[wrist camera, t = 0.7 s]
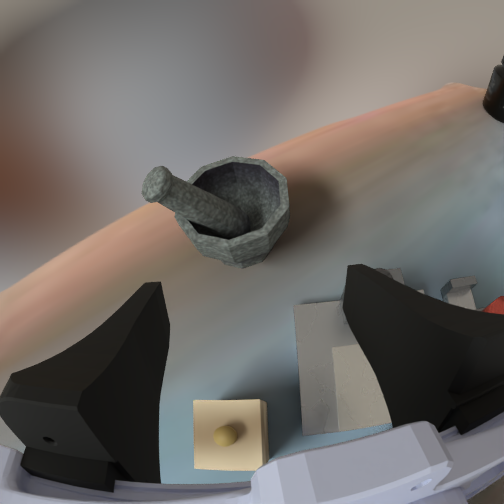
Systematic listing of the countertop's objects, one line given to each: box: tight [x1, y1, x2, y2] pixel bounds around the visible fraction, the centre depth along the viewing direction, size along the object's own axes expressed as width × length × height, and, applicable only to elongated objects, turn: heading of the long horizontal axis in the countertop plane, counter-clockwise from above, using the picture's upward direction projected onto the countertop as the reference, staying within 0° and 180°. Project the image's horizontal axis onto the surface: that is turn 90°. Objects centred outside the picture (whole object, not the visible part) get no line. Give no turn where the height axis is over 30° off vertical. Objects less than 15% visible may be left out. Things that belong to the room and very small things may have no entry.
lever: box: [475, 296, 504, 314], centre depth 20 cm, size 4×3×6 cm
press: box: [294, 268, 424, 436], centre depth 21 cm, size 11×12×7 cm
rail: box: [441, 276, 477, 310], centre depth 21 cm, size 15×3×2 cm, turn 2°
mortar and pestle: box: [142, 156, 290, 268], centre depth 27 cm, size 11×9×12 cm
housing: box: [193, 399, 269, 471], centre depth 20 cm, size 5×4×6 cm
